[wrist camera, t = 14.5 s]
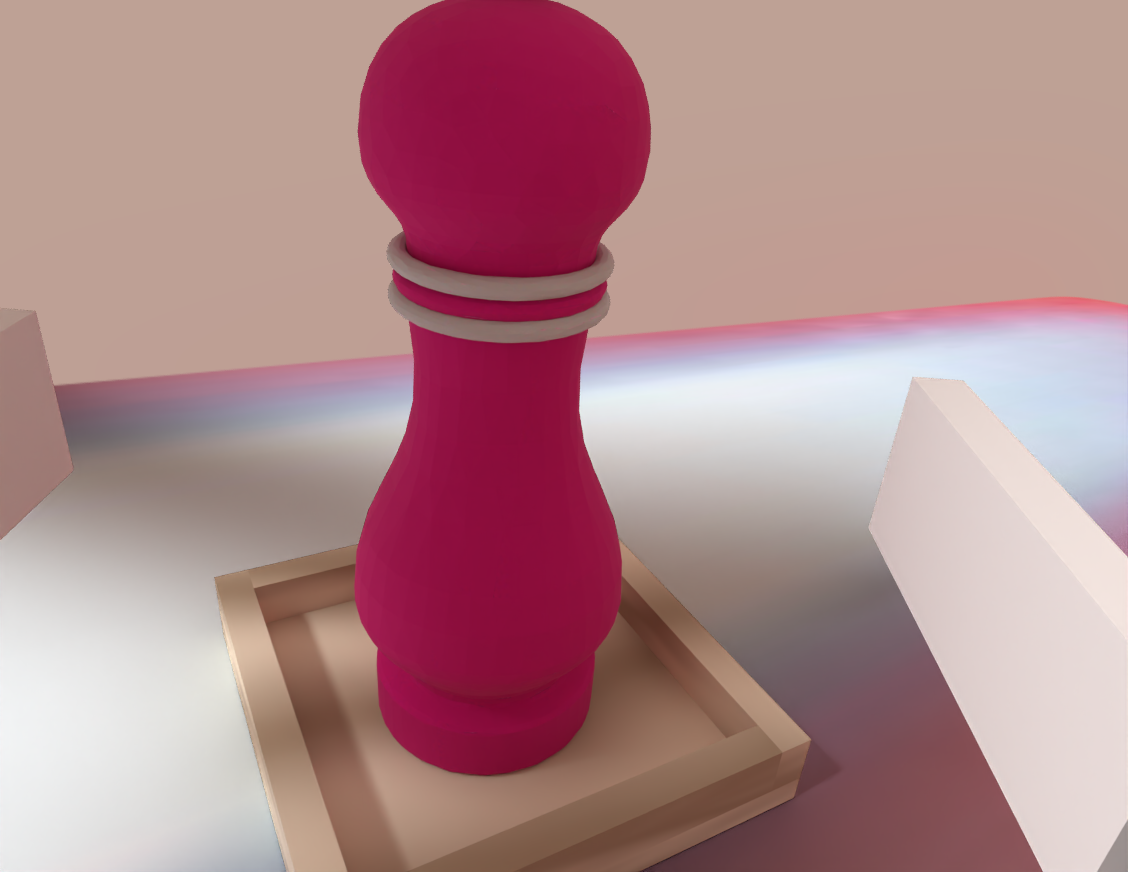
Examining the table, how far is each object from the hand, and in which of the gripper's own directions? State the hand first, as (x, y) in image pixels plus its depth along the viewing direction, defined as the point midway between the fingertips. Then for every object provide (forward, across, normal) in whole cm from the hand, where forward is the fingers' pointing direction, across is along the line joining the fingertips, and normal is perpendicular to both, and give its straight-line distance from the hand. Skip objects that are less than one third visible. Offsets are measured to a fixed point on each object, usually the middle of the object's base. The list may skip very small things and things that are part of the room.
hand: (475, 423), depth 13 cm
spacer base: (+7, 0, -14) cm, 15 cm away
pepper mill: (+7, 0, -13) cm, 15 cm away
